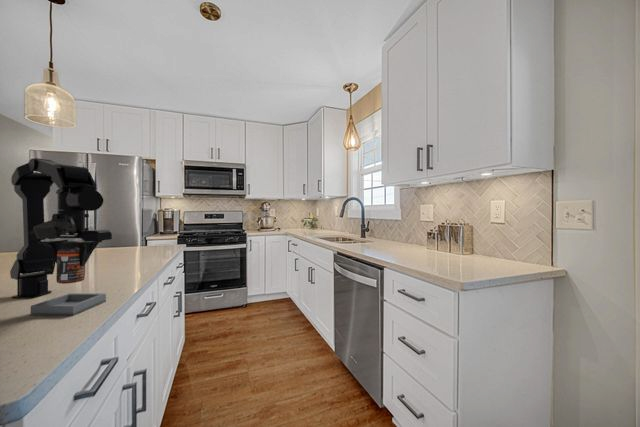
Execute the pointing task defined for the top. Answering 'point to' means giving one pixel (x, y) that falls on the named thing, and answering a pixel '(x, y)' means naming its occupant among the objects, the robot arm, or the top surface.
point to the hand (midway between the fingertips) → (71, 265)
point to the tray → (68, 304)
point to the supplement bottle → (69, 264)
